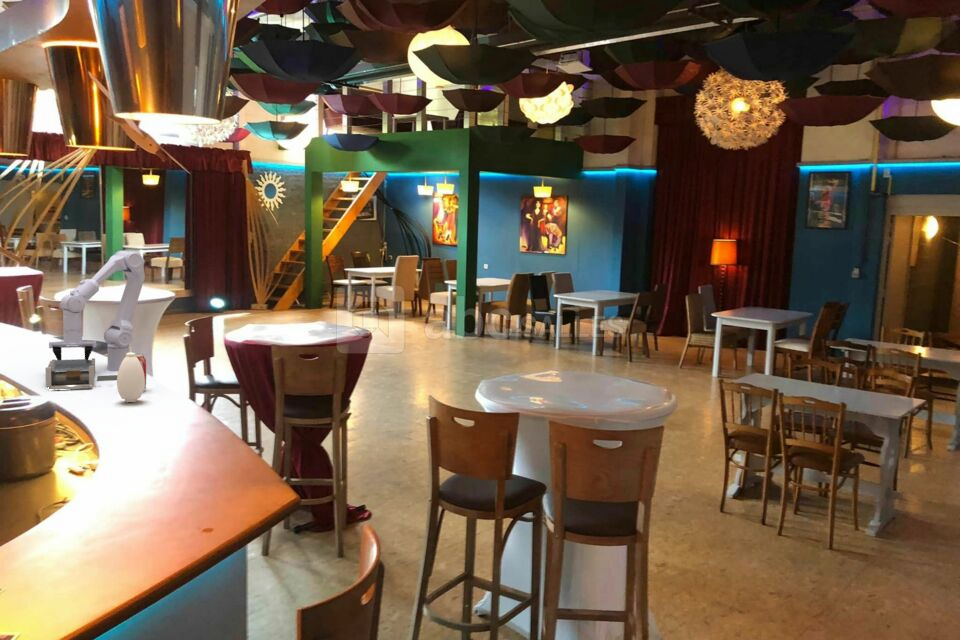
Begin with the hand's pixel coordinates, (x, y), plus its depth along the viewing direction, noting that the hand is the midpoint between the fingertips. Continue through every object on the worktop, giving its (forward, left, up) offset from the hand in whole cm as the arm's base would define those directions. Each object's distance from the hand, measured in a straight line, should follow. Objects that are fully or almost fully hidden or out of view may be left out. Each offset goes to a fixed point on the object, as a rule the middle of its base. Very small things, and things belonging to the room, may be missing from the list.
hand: (73, 367), depth 272 cm
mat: (+5, +14, -3) cm, 15 cm away
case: (+7, +2, -3) cm, 8 cm away
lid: (+11, +3, +3) cm, 12 cm away
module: (0, 0, -2) cm, 2 cm away
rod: (+22, +6, -3) cm, 23 cm away
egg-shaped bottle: (+39, +29, -3) cm, 49 cm away
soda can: (+23, +26, -3) cm, 35 cm away
